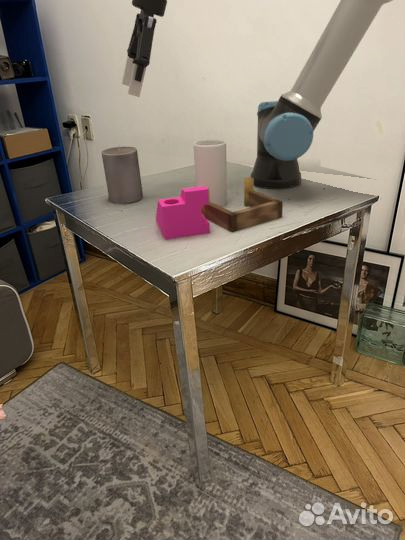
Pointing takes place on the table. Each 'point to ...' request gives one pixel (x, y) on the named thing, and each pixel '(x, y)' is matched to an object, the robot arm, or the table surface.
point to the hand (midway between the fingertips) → (129, 90)
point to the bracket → (183, 214)
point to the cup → (212, 168)
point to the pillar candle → (122, 174)
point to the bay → (245, 210)
